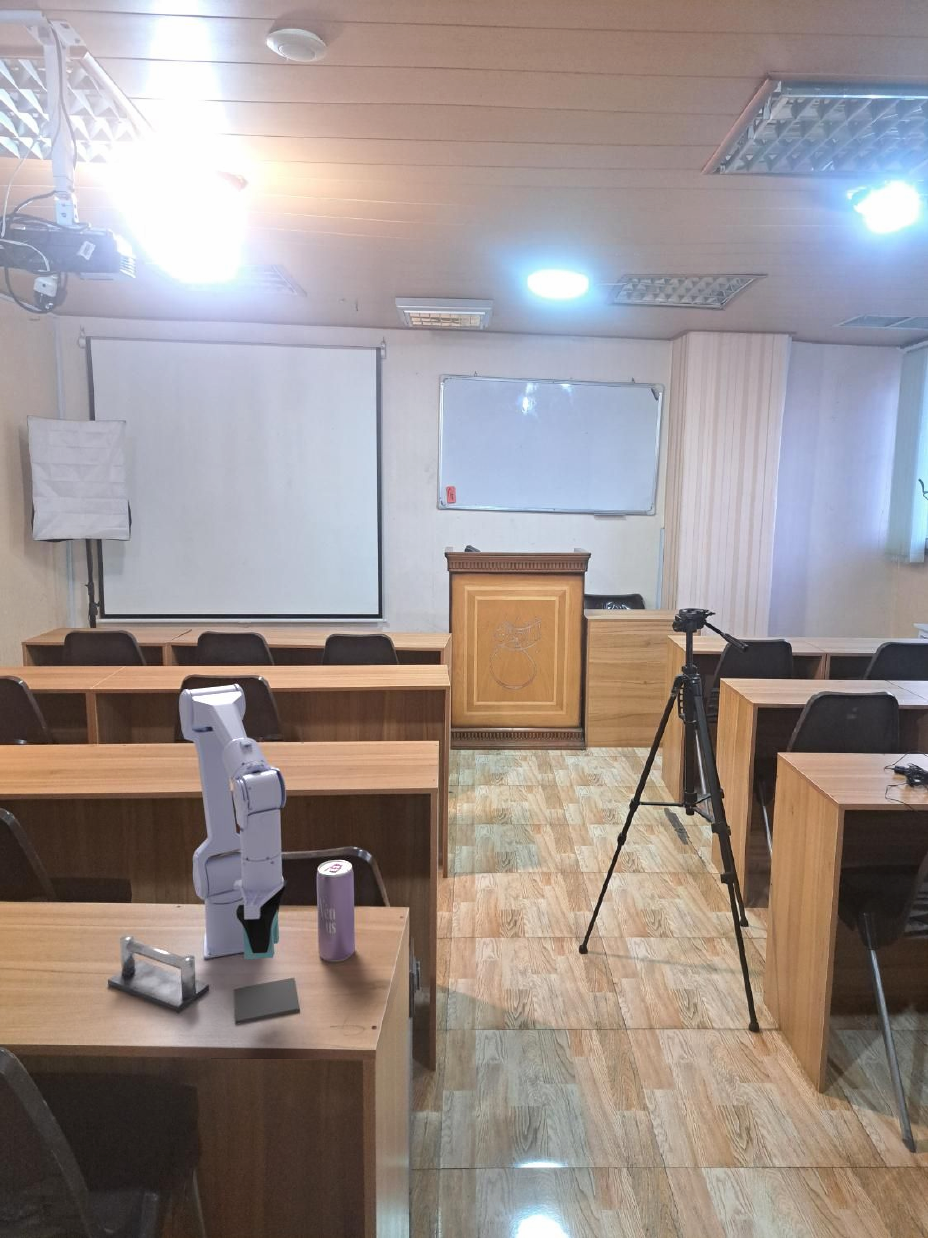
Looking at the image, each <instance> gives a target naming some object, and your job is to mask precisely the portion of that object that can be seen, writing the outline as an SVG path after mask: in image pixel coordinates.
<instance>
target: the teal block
mask: <svg viewBox="0 0 928 1238" xmlns="http://www.w3.org/2000/svg"><path fill="white" fill-rule="evenodd" d="M279 929H280V928H279V912H278V909H277V912H276V914H275V916H274V918H273V922H272V927H271V935H270V943H269V947H268V951H267V953H253V952H252V950H251V947H250V943H249V940H248V936H247V933H246V931H245V929H244V927H243V937H244V952H243V953H244V954H243V955H244V956H243V957H244V960H257V959H274V955H275V944H276V945H277V944H279V940H280V931H279Z"/></svg>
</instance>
